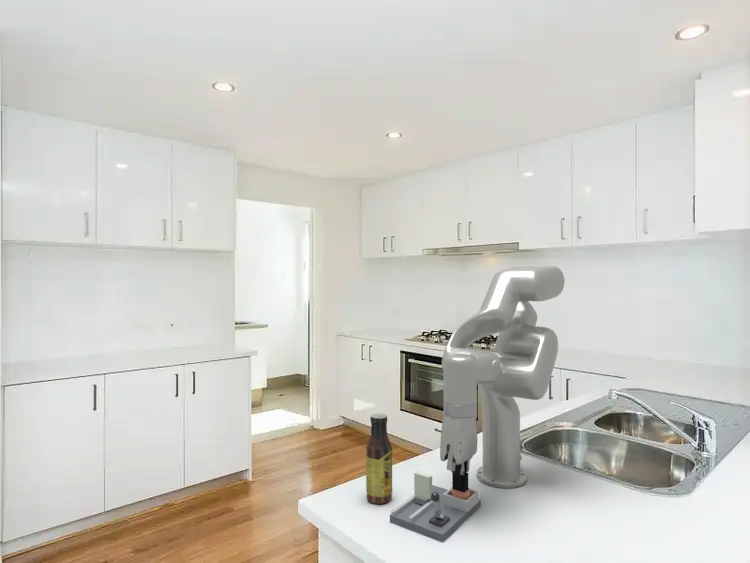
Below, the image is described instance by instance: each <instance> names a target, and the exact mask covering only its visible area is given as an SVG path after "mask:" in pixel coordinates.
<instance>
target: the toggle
mask: <svg viewBox="0 0 750 563" xmlns="http://www.w3.org/2000/svg"><path fill="white" fill-rule="evenodd" d="M439 498H440V496H439V494H438V493H436V492H434V493H432V494H431V499H432V501H433V502H434V506H435V511H436V512H435V513H434V517H436V518H439V519H442V520H444V518H445V515H443V514H442V513H441V508H440V504H439Z"/></svg>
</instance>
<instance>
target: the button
mask: <svg viewBox="0 0 750 563" xmlns="http://www.w3.org/2000/svg"><path fill="white" fill-rule="evenodd" d="M451 488H452V487H451ZM470 489H471V488H470V487H469V486H468V490H467V491H466V492H465V493H464V492H461V491H457V490H454V489H453V488H452V496H454V497H457V498H461V499H464V500H467V499H468V498H469V497H470Z"/></svg>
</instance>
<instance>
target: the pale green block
mask: <svg viewBox="0 0 750 563" xmlns="http://www.w3.org/2000/svg"><path fill="white" fill-rule="evenodd" d="M413 476H414V477H413V478H414V480H413V481H414V482H413V484H414V486H413V487H414V489H413V490H414V494H413V495H416V496H415V497H414V502H416V503H418V504H421V505H425V504H426V503H428V502H429V501H430V500H432V499H431V494H432V485H433V475H431V474H427V473H423V472H420V471H415V472H414V473H413Z"/></svg>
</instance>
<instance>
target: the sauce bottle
mask: <svg viewBox="0 0 750 563" xmlns="http://www.w3.org/2000/svg"><path fill="white" fill-rule="evenodd" d="M387 422H388V416H387V415H386V414H384V413H374V414H371V415H370V424H371V425H370V426H371V428H370V430H371V431H370V435H369V436H370V437H369V438H368V440H367V442H366V455H365V464H366V465H365V467H366V468H365V471H366V472H365V477H366V479H365V481H366V482H365V484H366V485H365V487H366V490H365V491H366V499H367V500H368V502H370V503H372V504H378V505H382V504H385V503H386V504H387V503H388V502H390V501H391V500H392V497H393V496H392V495H393V448H392V445H391V442H390V439H389V437H388V431H387V430H388V429H387V428H388V426H387Z"/></svg>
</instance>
